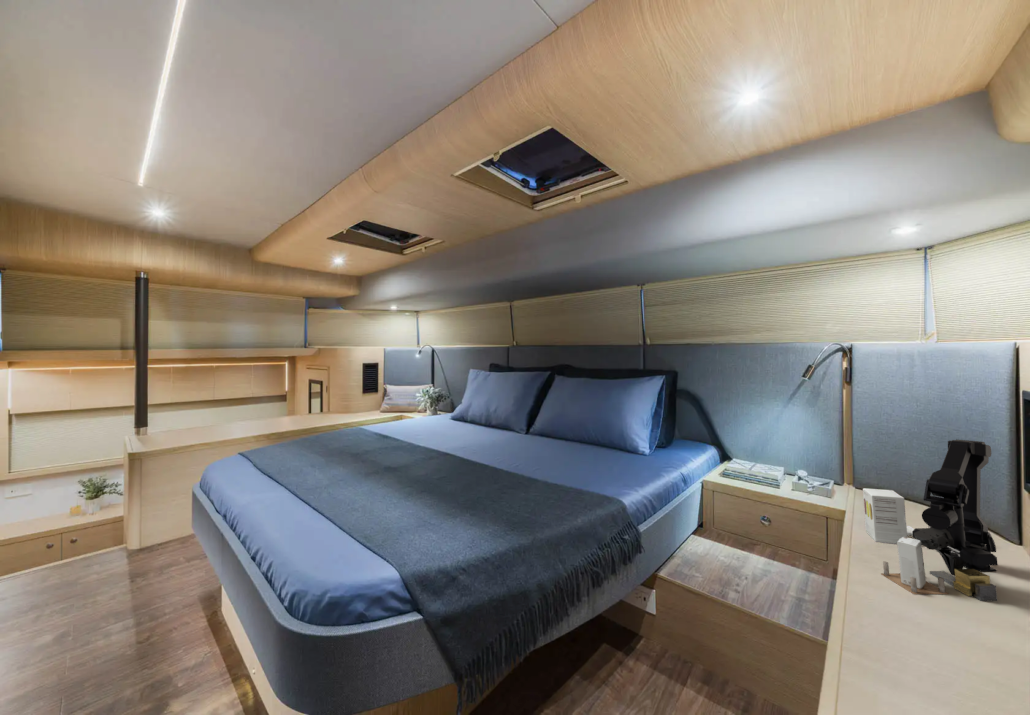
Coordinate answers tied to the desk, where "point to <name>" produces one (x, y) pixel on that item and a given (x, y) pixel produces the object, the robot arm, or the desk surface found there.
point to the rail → (982, 590)
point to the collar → (969, 580)
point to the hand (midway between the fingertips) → (954, 575)
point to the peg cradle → (926, 589)
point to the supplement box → (884, 515)
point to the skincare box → (911, 561)
